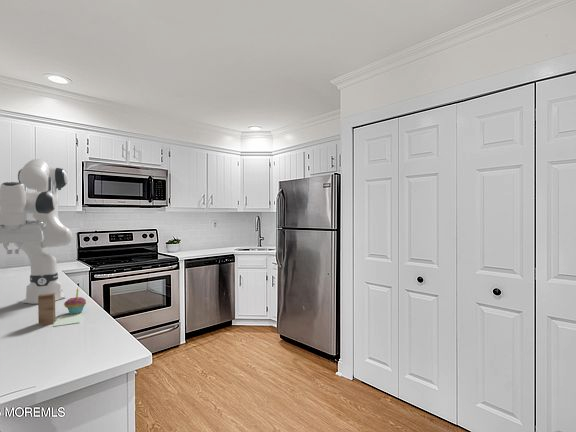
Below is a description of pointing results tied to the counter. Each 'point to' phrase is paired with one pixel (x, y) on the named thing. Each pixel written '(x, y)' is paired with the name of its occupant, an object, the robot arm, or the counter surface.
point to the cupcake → (75, 304)
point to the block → (46, 308)
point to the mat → (68, 320)
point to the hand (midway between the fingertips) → (13, 253)
